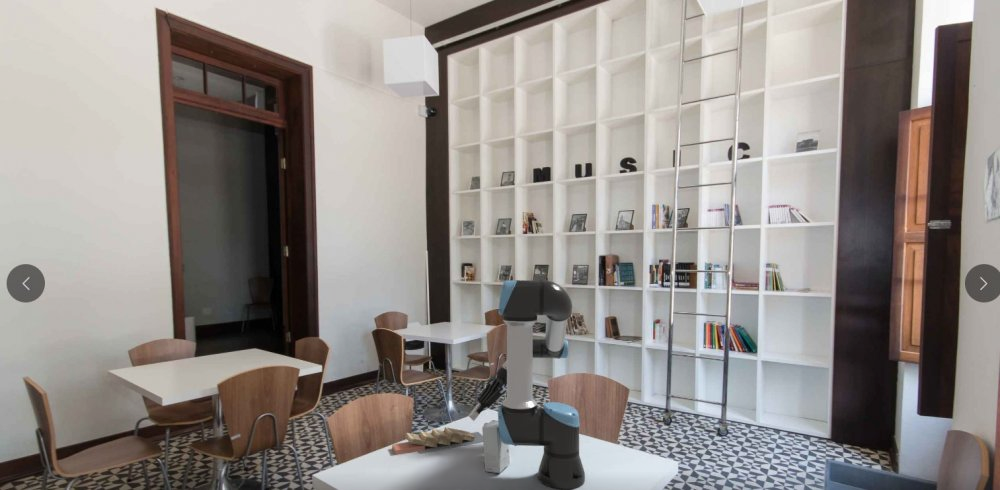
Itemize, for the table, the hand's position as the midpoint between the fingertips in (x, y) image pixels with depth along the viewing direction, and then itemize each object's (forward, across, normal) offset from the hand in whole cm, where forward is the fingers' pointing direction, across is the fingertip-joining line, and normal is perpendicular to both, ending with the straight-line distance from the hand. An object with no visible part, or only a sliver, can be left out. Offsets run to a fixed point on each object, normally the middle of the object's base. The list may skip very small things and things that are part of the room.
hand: (471, 418), depth 177 cm
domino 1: (+19, 0, +9) cm, 21 cm away
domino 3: (+12, 0, +2) cm, 12 cm away
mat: (+12, 0, 0) cm, 12 cm away
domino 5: (+5, 0, -5) cm, 7 cm away
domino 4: (+9, 0, -2) cm, 9 cm away
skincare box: (+7, -27, -5) cm, 29 cm away
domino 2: (+16, 0, +6) cm, 17 cm away
